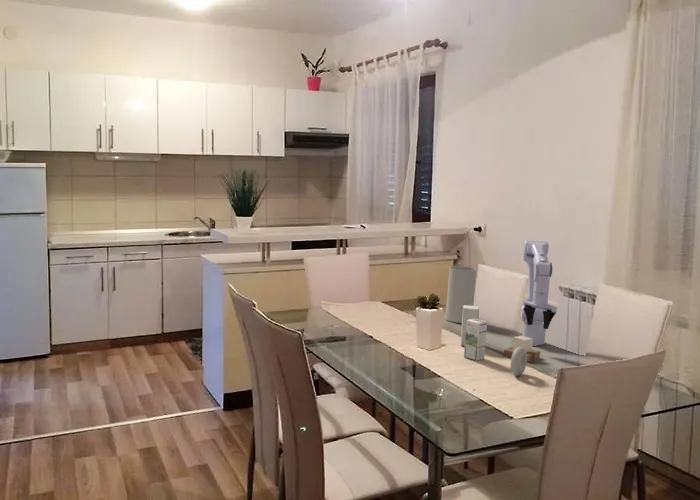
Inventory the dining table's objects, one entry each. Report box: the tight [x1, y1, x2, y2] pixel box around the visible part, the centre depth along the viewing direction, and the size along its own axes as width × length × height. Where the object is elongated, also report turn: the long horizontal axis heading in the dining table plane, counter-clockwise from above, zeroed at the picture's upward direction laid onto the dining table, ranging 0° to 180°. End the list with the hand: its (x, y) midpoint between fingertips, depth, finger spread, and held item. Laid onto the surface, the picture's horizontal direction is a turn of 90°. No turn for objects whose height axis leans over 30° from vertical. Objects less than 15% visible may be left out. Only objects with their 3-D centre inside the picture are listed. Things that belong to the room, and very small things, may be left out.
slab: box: [502, 346, 541, 363], centre depth 253 cm, size 10×10×3 cm
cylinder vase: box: [445, 265, 477, 324], centre depth 309 cm, size 12×12×25 cm
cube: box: [512, 335, 533, 352], centre depth 253 cm, size 5×5×5 cm
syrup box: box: [463, 319, 488, 361], centre depth 246 cm, size 6×6×14 cm
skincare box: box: [460, 305, 480, 347], centre depth 266 cm, size 8×7×16 cm
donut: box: [510, 347, 528, 377], centre depth 228 cm, size 10×4×10 cm, turn 147°
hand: (537, 326), depth 260 cm, fingers open, 7 cm apart
